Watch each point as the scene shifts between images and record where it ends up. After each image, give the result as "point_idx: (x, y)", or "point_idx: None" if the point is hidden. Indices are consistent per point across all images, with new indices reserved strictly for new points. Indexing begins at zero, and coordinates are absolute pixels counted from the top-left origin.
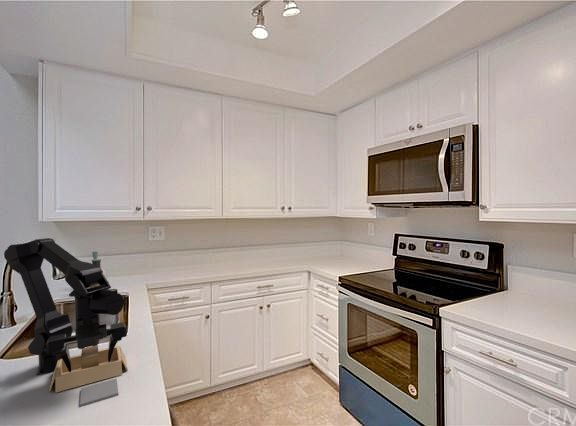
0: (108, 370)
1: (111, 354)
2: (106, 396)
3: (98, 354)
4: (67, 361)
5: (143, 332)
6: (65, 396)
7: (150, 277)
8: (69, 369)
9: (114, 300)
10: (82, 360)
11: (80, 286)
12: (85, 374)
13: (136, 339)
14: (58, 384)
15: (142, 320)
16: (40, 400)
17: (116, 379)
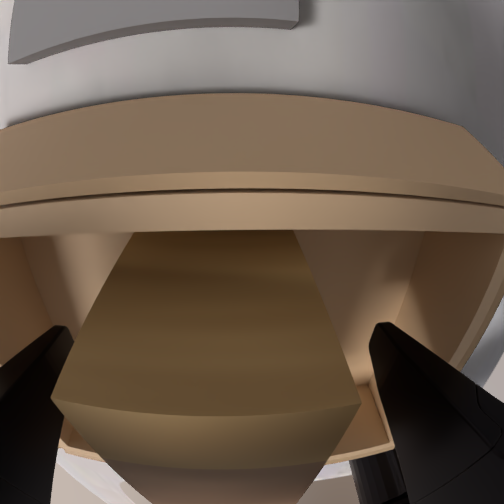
0: (22, 146)
1: (3, 367)
2: None
3: None
4: (459, 395)
5: (78, 470)
6: (399, 54)
7: None
8: (400, 336)
9: None
10: (327, 374)
11: None
12: (264, 137)
13: (80, 457)
14: (481, 152)
15: (112, 500)
16: (499, 133)
17: (10, 43)
